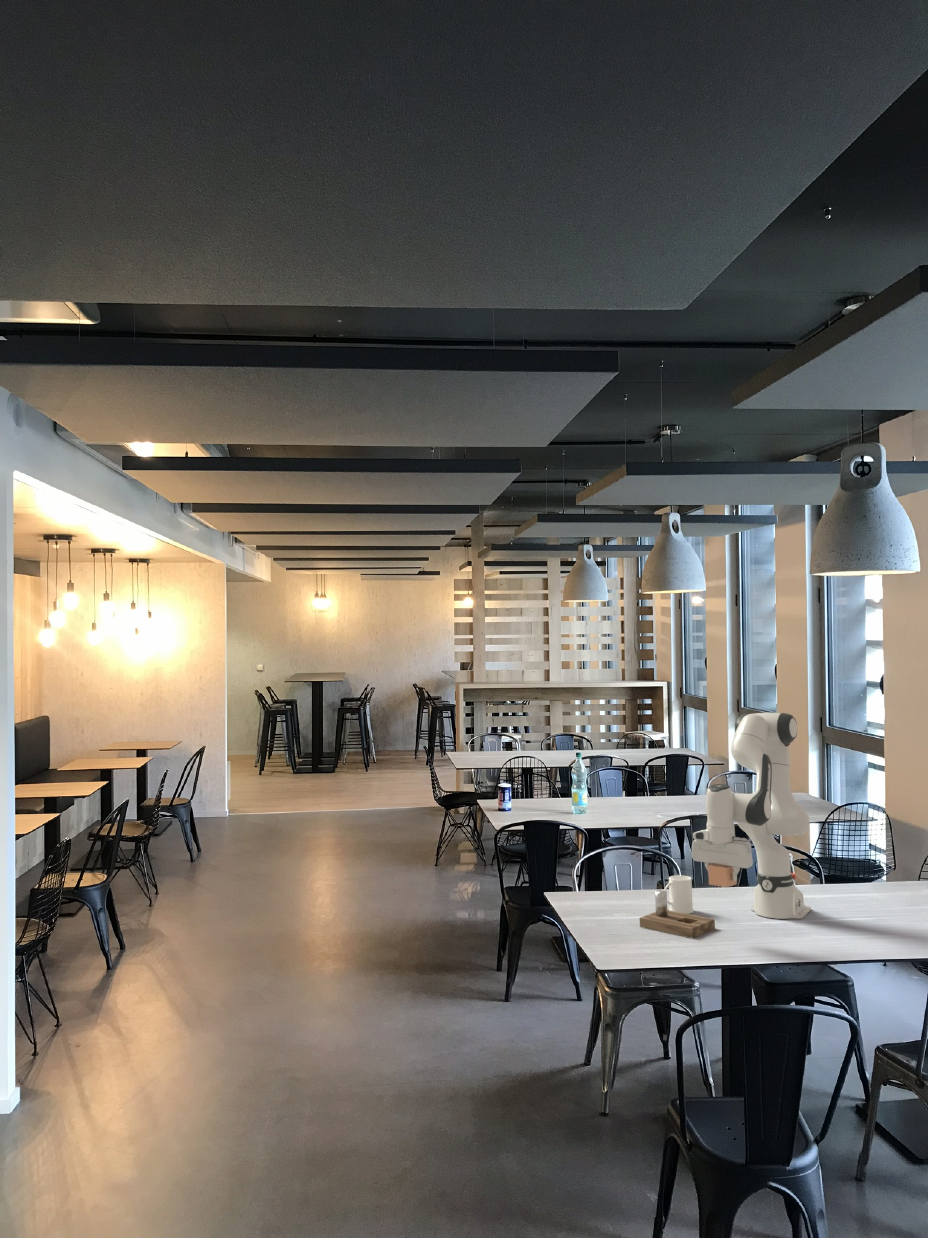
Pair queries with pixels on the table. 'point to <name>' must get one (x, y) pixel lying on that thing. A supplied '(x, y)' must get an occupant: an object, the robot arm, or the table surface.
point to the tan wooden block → (720, 875)
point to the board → (678, 923)
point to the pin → (661, 903)
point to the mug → (680, 894)
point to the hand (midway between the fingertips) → (722, 878)
